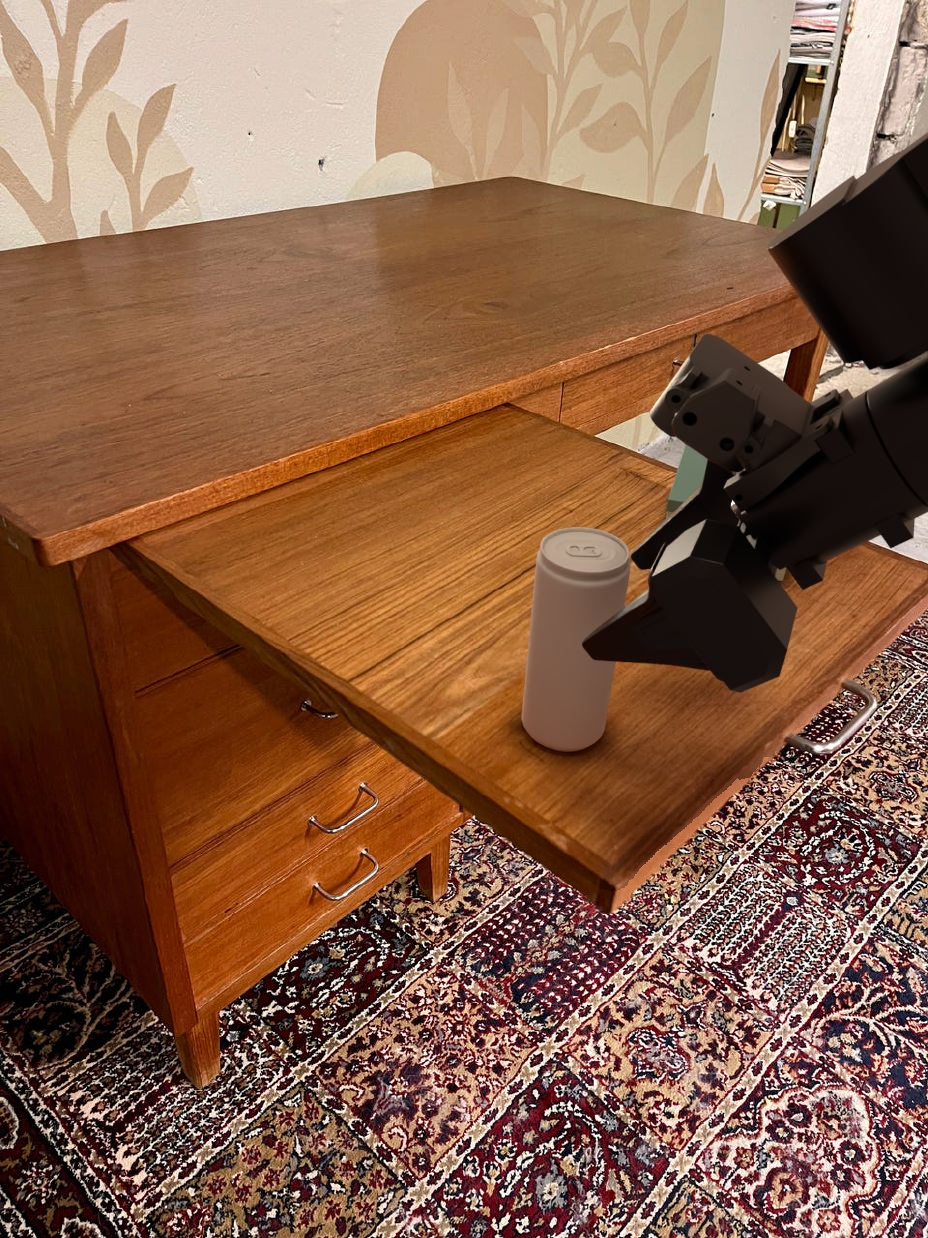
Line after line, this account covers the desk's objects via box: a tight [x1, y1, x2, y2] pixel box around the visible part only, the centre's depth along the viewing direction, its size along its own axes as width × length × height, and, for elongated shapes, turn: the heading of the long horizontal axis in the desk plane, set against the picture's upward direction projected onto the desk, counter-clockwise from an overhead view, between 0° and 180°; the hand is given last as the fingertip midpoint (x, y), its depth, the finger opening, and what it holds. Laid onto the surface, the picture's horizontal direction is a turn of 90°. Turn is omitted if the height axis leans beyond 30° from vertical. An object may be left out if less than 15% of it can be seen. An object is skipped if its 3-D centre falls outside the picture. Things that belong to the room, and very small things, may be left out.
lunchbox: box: [665, 444, 787, 582], centre depth 74 cm, size 10×10×5 cm
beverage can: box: [521, 526, 631, 753], centre depth 52 cm, size 5×5×12 cm
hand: (613, 603), depth 50 cm, fingers open, 9 cm apart
